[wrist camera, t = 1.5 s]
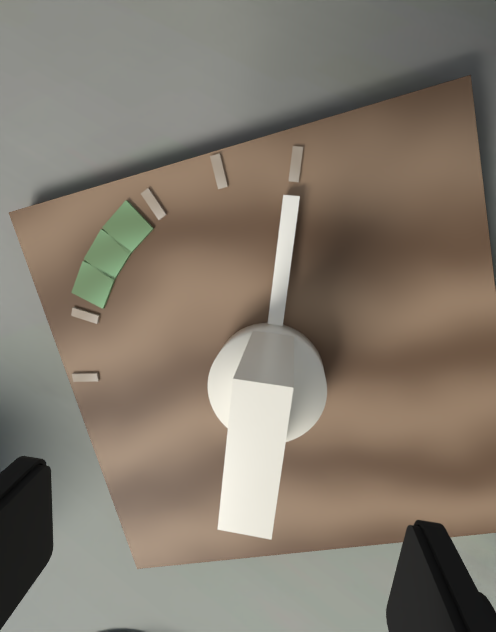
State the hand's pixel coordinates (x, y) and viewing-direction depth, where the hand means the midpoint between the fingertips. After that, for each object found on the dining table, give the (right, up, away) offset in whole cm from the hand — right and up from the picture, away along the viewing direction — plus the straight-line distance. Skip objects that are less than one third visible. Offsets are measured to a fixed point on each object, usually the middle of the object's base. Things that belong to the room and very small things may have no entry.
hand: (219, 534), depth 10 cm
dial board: (+2, +3, +13) cm, 13 cm away
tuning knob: (+2, +5, +10) cm, 12 cm away
